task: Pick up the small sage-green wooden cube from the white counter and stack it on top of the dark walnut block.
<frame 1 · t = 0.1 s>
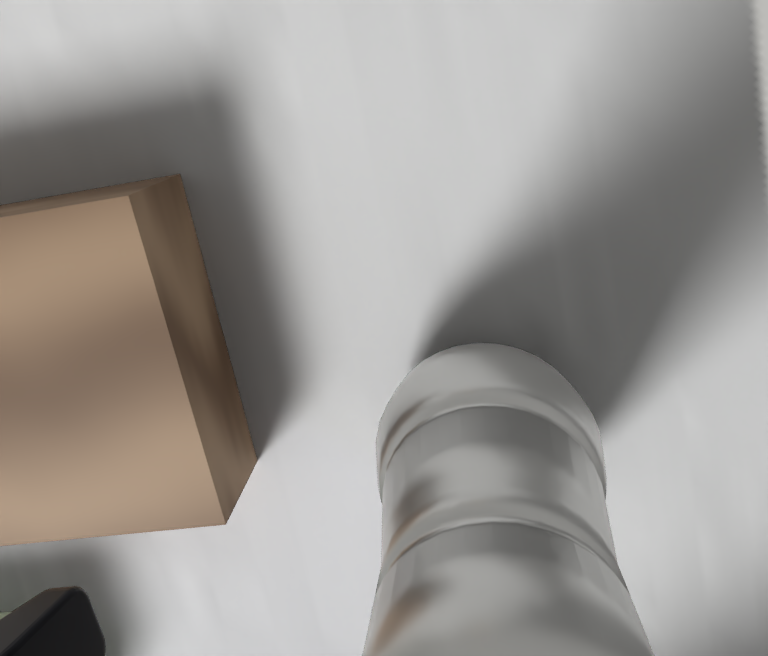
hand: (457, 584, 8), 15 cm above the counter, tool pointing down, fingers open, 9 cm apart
plastic bottle: (485, 413, 24), on the counter
walnut block: (85, 343, 24), on the counter
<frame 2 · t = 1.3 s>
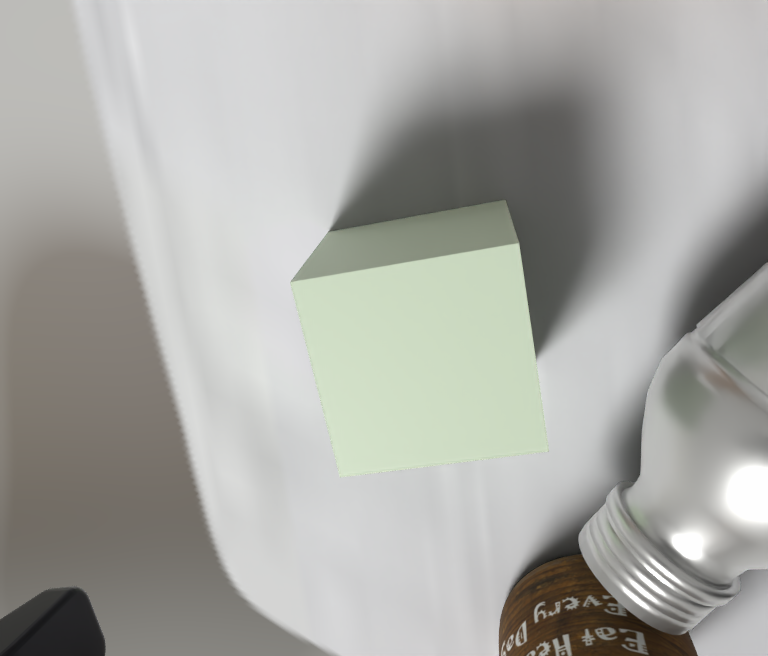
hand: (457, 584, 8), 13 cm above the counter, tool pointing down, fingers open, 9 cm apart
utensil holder: (581, 616, 24), on the counter
sage cube: (431, 299, 21), on the counter
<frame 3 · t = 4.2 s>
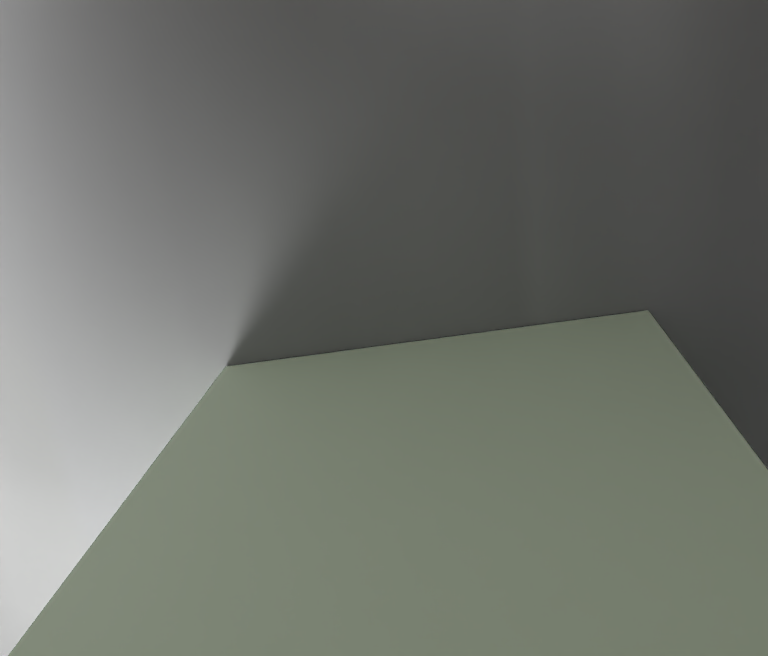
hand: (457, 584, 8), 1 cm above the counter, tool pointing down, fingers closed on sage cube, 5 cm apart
sage cube: (458, 518, 9), on the counter, touching gripper
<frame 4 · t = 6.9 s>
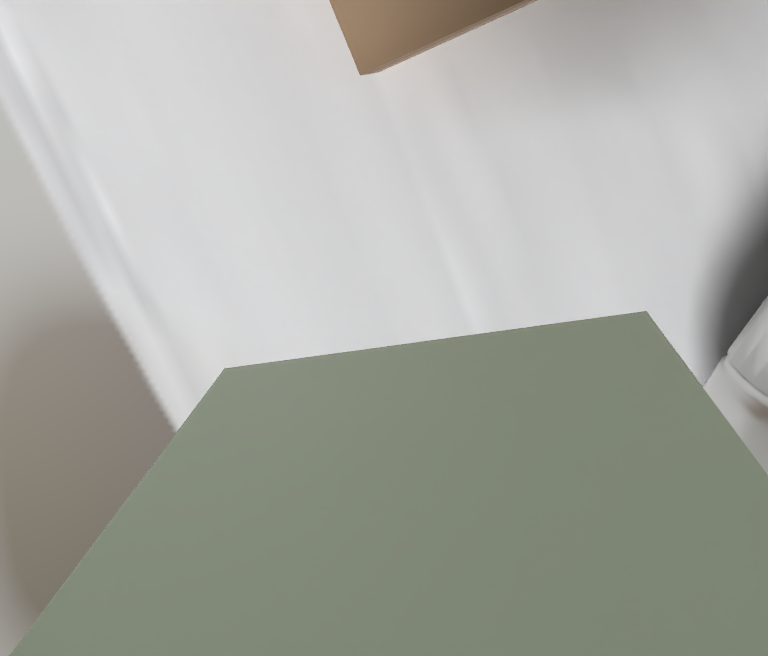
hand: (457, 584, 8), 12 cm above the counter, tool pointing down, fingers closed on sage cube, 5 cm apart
sage cube: (457, 519, 9), point 11 cm above the counter, touching gripper
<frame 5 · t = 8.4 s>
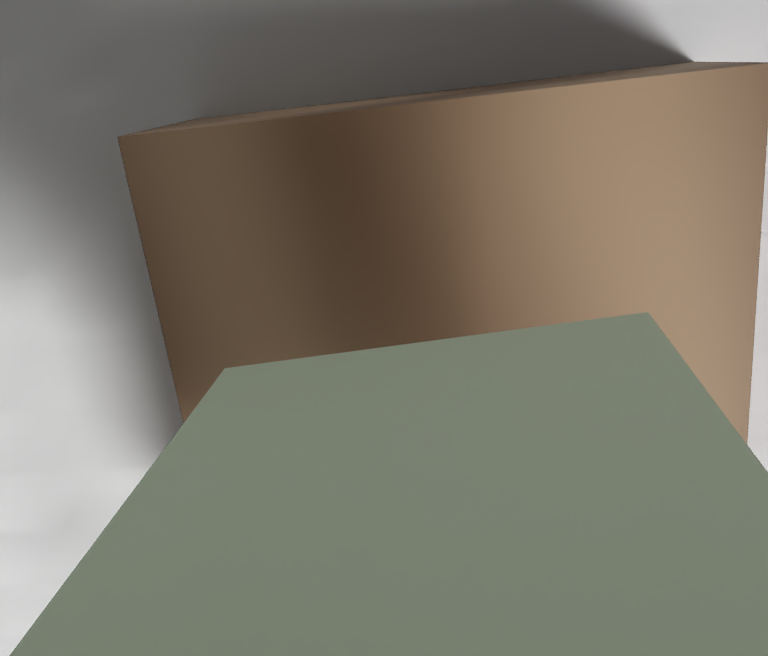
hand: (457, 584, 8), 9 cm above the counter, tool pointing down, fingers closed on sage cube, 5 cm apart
sage cube: (457, 520, 9), point 7 cm above the counter, touching gripper
walnut block: (453, 320, 16), on the counter
when the fingers open (7 cm above the counter, at t = 9.5 s): sage cube drops 2 cm, point 4 cm above the counter.
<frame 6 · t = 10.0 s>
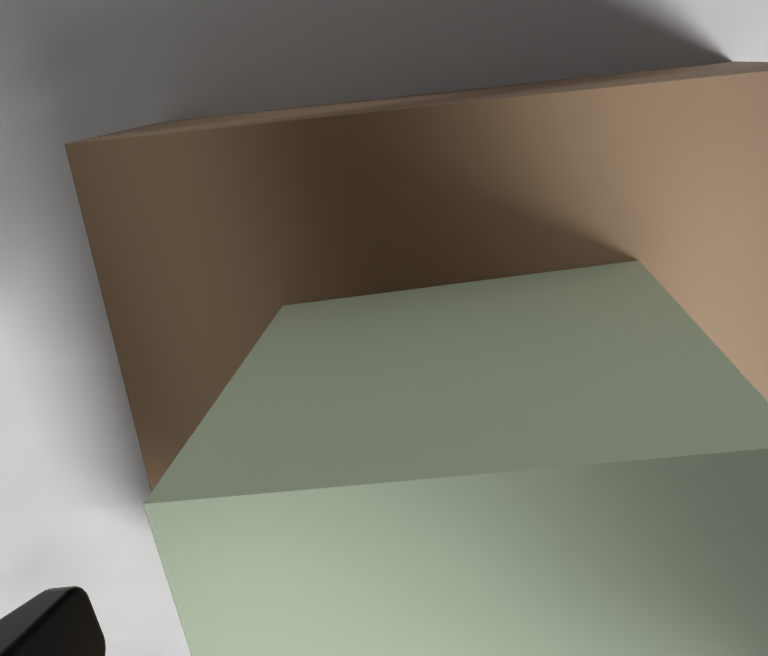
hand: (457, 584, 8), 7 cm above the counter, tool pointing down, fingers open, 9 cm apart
sage cube: (475, 440, 11), point 4 cm above the counter
walnut block: (454, 347, 15), on the counter
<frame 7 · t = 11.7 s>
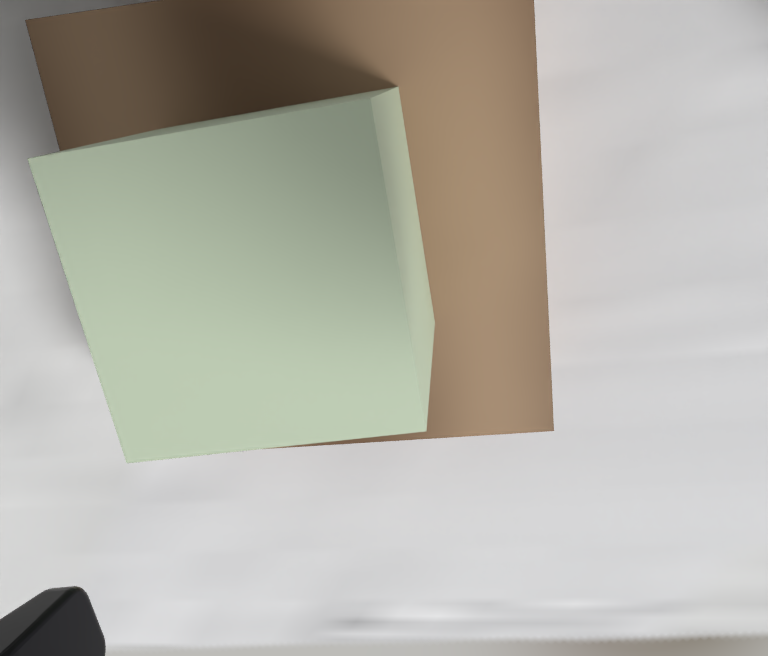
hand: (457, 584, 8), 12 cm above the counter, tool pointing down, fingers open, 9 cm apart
sage cube: (302, 228, 15), point 4 cm above the counter
walnut block: (335, 204, 19), on the counter
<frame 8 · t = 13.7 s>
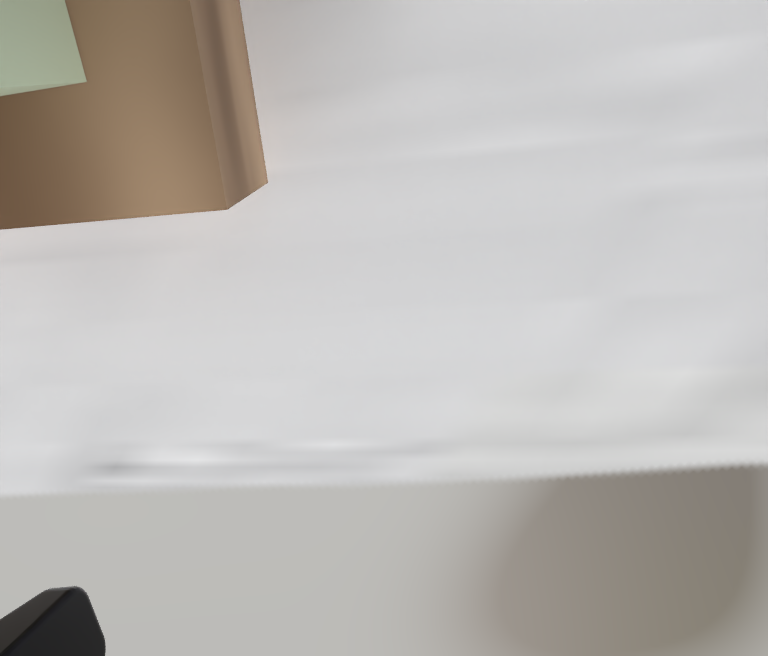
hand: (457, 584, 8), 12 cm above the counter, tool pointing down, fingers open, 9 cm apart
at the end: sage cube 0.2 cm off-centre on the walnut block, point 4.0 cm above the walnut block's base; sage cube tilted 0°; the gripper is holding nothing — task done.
